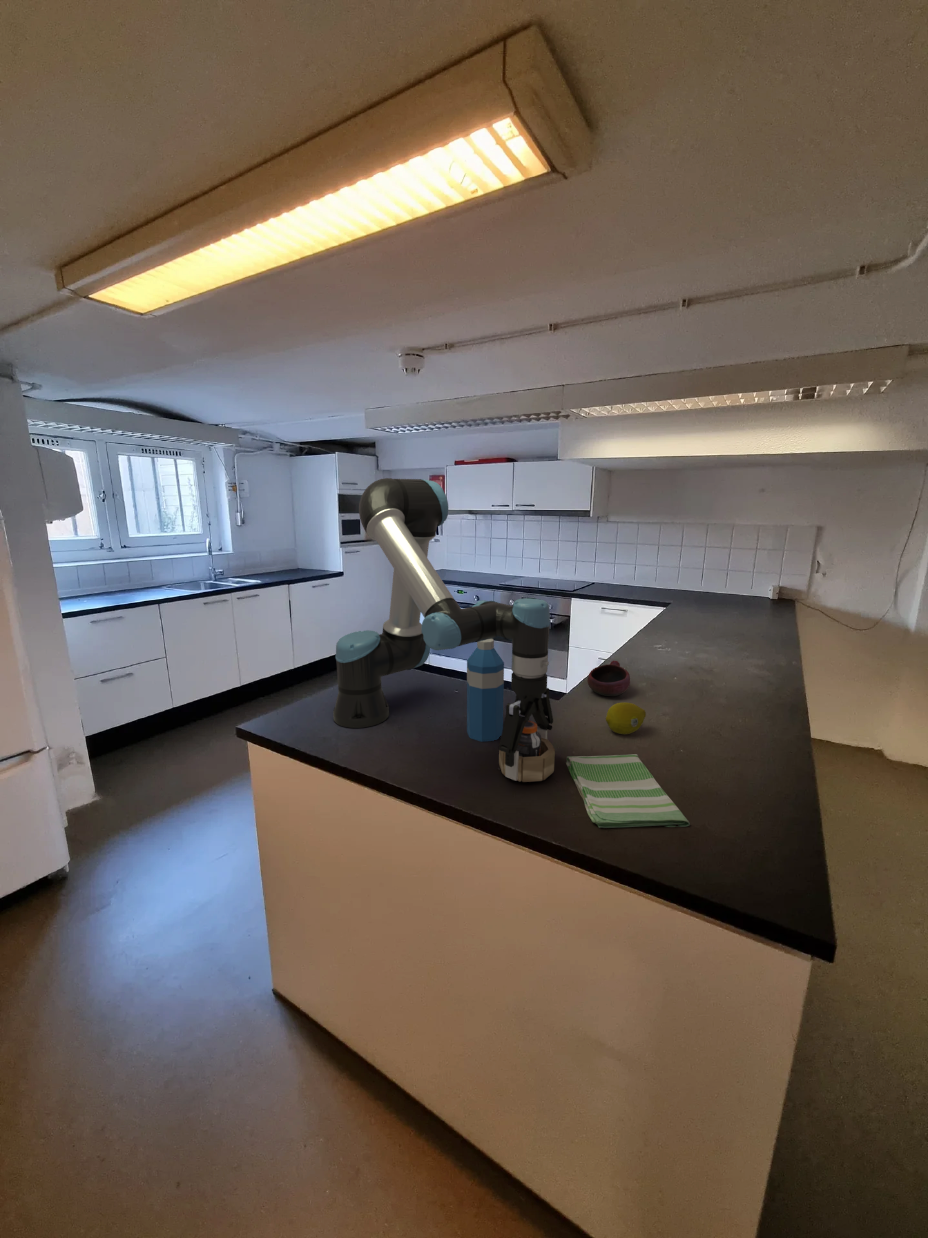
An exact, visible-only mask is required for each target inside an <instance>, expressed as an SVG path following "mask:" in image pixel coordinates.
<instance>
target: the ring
mask: <svg viewBox="0 0 928 1238" xmlns="http://www.w3.org/2000/svg"><path fill="white" fill-rule="evenodd" d="M499 744H500V742H499ZM498 751H499V752H498V753H499V754H498V764H499V768H500V770H501V771H500V772H501V773H502V775H503V776H505V765H506V764H505V752H503V751H500V750H499V749H498ZM555 755H556V749H555V748H554V746H553V744H552V742H551V741H550V740H549V739H548V738H547V739H544V738H541V756H534V757H521V756H519V759H518V780H517V781H518V782H522V783H527V782H529V783H531V782H542V781H545V780H546V779H547V778H548V777H550V776H551V775H552V774H553V773H554V771H555Z"/></svg>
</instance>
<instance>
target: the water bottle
mask: <svg viewBox="0 0 928 1238" xmlns="http://www.w3.org/2000/svg"><path fill="white" fill-rule="evenodd" d="M476 644H477V645H476V648H474V649H475V650H473V652H472V653H471V655H470V656H469V657H468V658H467V659H466V733H467V736H468V737H469V739H472V740H475V741H478V742H481V743H482V742H491V741H492V742H495V741H494V740H496V741H497V740H498V739H500V738H501V737H500V736H501V735H502V730H503V726H504V696H505V695H504V693H505V692H504V690H505V689H504V686H505V685H504V684H505V681H504V680H505V662H504V660H503V659H502V657H501V656H500V654H499V653H498V652H497V651H496V649H495V641H494V638H491V639H487V640H483V641H479V642H476ZM499 737H500V738H499Z"/></svg>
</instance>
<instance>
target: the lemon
mask: <svg viewBox="0 0 928 1238" xmlns="http://www.w3.org/2000/svg"><path fill="white" fill-rule="evenodd" d="M646 717H647V713H646V710H645V709H644V708H642V707H640V706H639V705H636V704H635V703H631V702H624V701H623V702H617V703H614V704H612V705H611V706H610V707H609V708H608V710H607V713H606V716H605V722H606V723H607V725H608V728H610V730H611V731H612V732H614V733H616V734H619V735H630V734H633V733H635V732H636V731H638V730H639V729H640V727H642V725H643V723H644V721H645V718H646Z"/></svg>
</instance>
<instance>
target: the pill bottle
mask: <svg viewBox="0 0 928 1238" xmlns="http://www.w3.org/2000/svg"><path fill="white" fill-rule="evenodd" d="M537 728H538V726H537V724H536V722H535V721H533V720H529V721H528V722H526V723H525V726H524V729H523V732H522V735H521V738H520V741H519V744H518V747H517V751H519V756H521V757H534V756H541V735H540V733H539V732H537Z"/></svg>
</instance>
